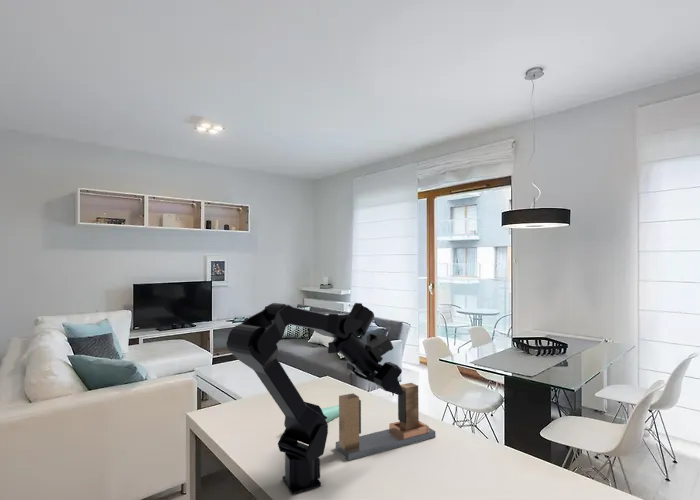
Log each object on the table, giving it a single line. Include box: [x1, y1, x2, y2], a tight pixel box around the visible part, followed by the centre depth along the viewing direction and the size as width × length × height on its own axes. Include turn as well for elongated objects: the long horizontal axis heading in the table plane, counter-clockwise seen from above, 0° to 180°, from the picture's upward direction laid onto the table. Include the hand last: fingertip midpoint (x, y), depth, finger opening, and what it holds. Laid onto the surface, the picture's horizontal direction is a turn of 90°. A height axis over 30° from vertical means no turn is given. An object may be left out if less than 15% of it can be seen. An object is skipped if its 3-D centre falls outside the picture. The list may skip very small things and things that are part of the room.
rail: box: [335, 392, 437, 461], centre depth 100 cm, size 26×7×14 cm, turn 118°
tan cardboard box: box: [397, 382, 420, 431], centre depth 103 cm, size 5×3×12 cm, turn 118°
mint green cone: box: [321, 404, 339, 423], centre depth 116 cm, size 5×6×27 cm
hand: (391, 388), depth 101 cm, fingers open, 9 cm apart
